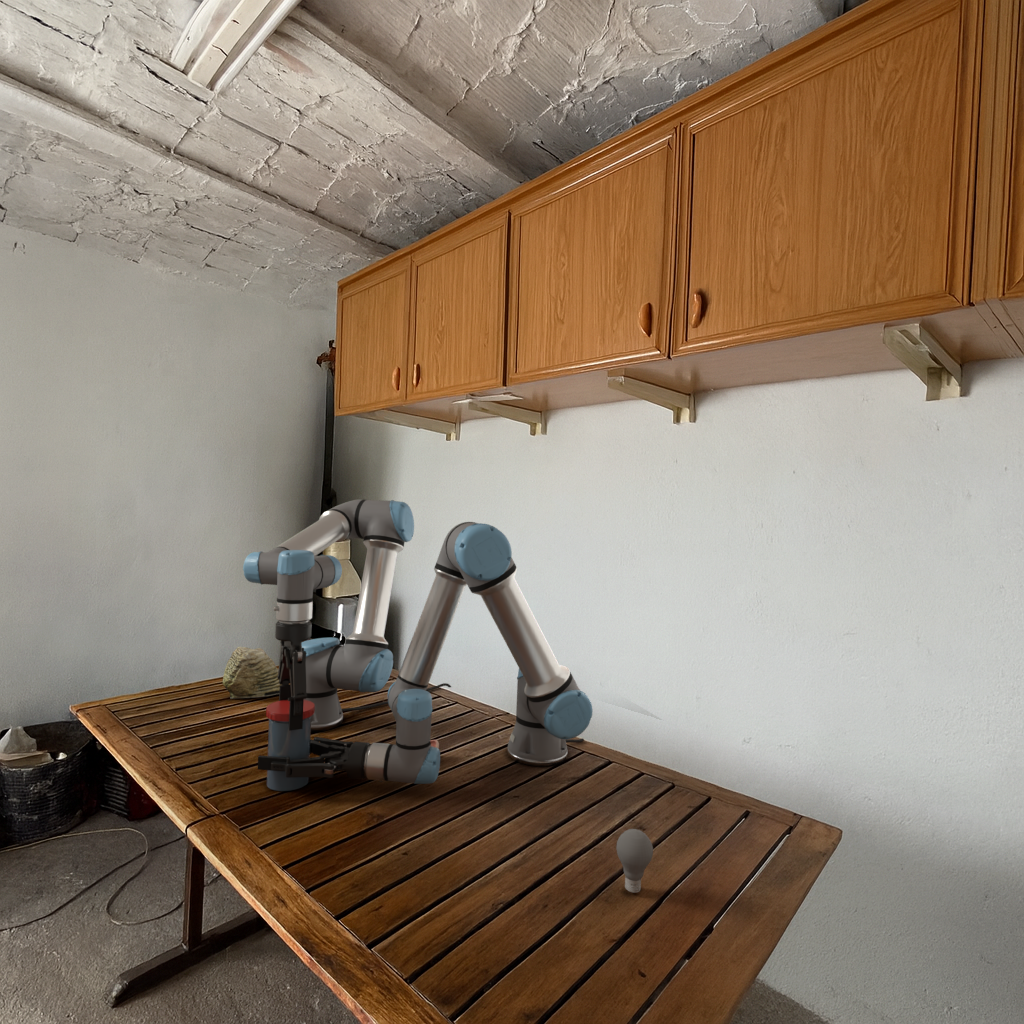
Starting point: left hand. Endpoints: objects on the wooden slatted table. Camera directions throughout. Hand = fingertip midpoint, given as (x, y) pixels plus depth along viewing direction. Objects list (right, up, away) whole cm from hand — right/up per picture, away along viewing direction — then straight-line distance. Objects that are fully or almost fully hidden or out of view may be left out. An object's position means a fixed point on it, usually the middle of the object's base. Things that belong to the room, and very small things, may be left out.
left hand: (290, 721), depth 140 cm
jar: (-1, -14, 0) cm, 14 cm away
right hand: (-5, -7, +1) cm, 9 cm away
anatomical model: (+24, -14, +14) cm, 31 cm away
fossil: (-32, -11, +58) cm, 67 cm away
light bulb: (+69, -17, -34) cm, 79 cm away
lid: (0, +3, 0) cm, 3 cm away
